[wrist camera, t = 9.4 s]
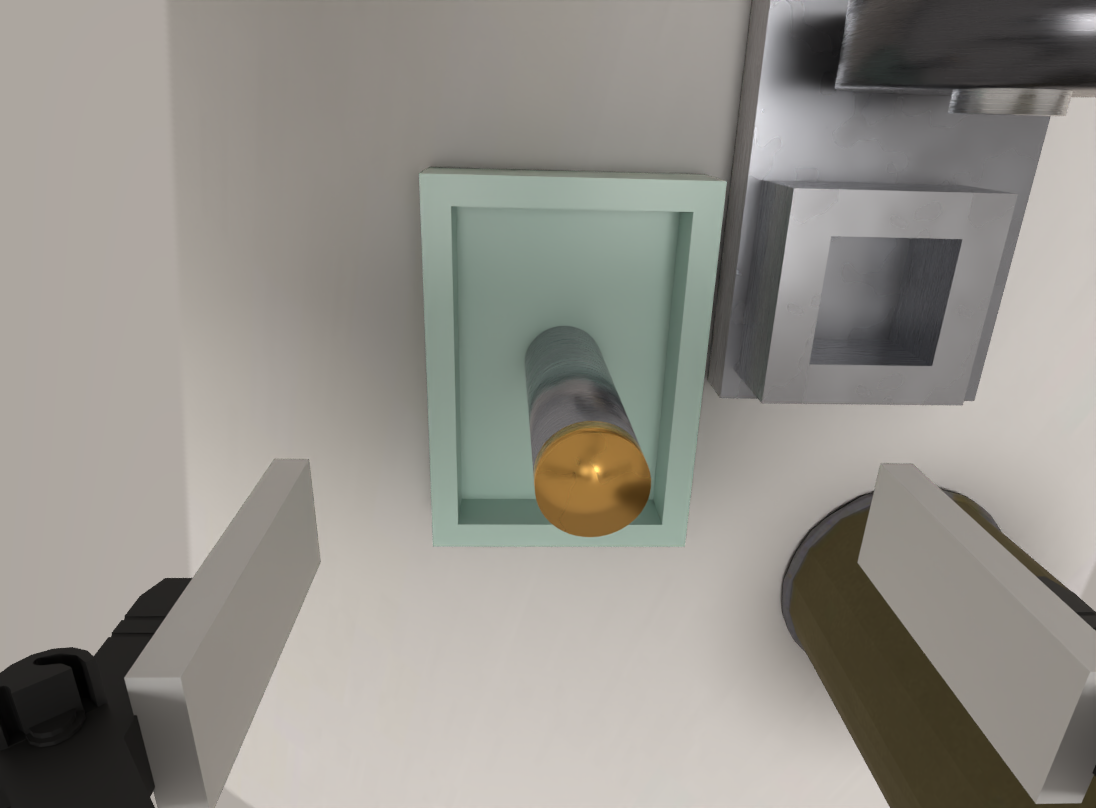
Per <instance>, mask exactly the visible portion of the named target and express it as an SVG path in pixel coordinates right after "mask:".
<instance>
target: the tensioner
mask: <svg viewBox="0 0 1096 808" xmlns="http://www.w3.org/2000/svg"><path fill="white" fill-rule="evenodd" d="M1071 97H1096V0H752V6H751V14H750V23H749V31H748V40H747V48H746V57H745V65H744V74H743V82H742V91H741V99H740V108H739V116H738V125H737V133H736V142H735V150H734V159H733V167H732V176H731V184H730V193H729V201H728V210H727V218H726V227H725V235H724V244H723V252H722V261H721V269H720V278H719V286H718V295H717V303H716V312H715V320H714V329H713V337H712V346H711V354H710V363H709V371H708V382H709V383H710V384H711V386H712V387H713V389H714V390H715V391H716V393H717V394H718V395H719V397H720V398H756V399H759V400H760V402H761V403H791V404H887V405H963V402H964V401H974V400H975V396H976V392H977V388H978V385H979V381H980V377H981V374H982V370H983V366H984V362H985V359H986V355H987V351H988V347H989V344H990V340H991V336H992V333H993V329H994V325H995V321H996V318H997V314H998V310H999V306H1000V303H1001V299H1002V295H1003V292H1004V288H1005V284H1006V280H1007V277H1008V273H1009V269H1010V265H1011V262H1012V258H1013V254H1014V251H1015V247H1016V243H1017V239H1018V236H1019V232H1020V228H1021V224H1022V221H1023V217H1024V213H1025V209H1026V206H1027V202H1028V198H1029V195H1030V191H1031V187H1032V183H1033V180H1034V176H1035V172H1036V168H1037V165H1038V161H1039V157H1040V154H1041V150H1042V146H1043V142H1044V139H1045V135H1046V131H1047V127H1048V124H1049V120H1050V116H1066V114H1067V110H1068V106H1069V103H1070V99H1071Z"/></svg>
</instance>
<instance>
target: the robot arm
mask: <svg viewBox="0 0 1096 808" xmlns="http://www.w3.org/2000/svg"><path fill="white" fill-rule="evenodd" d="M320 562H321V561H320V552H319V543H318V534H317V525H316V516H315V507H314V498H313V490H312V481H311V472H310V463H309V459H274V460H273V462H272V463H271V465H270V466H269V467H268V469H267V470H266V472H265V473H264V475H263V476H262V478H261V479H260V481H259V482H258V483H257V485H256V486H255V488H254V489H253V491H252V492H251V494H250V495H249V497H248V498H247V500H246V501H245V502H244V504H243V505H242V507H241V508H240V510H239V511H238V513H237V514H236V516H235V517H234V518H233V520H232V521H231V523H230V524H229V526H228V527H227V529H226V530H225V532H224V533H223V534H222V536H221V537H220V539H219V540H218V542H217V543H216V545H215V546H214V548H213V549H212V551H211V552H210V553H209V555H208V556H207V558H206V559H205V561H204V562H203V564H202V565H201V567H200V568H199V569H198V571H197V572H196V574H195V575H194V577H193V578H165V579H163V580H162V581H161V582H159V583H158V584H156V585H155V586H153V587H152V588H151V589H149V590H148V591H147V592H145V593H144V594H142V595H141V596H140V597H139V598H138V599H137V601H136V602H135V603H134V605H133V606H132V607H131V609H130V610H129V611H128V612H127V614H126V615H125V619H124V620H121V622H120V623H119V624H118V626H117V627H116V628H115V629H114V631H113V632H112V636H111V637H109V638H108V639H107V640H106V641H105V642H104V644H103V645H102V646H101V648H100V649H99V650H98V652H97V653H96V654H95V656H94V657H93V656H92V655H91V654H90V653H89V652H88V651H86V650H81V649H78V648H73V647H70V648H57V649H51V650H47V651H44V652H40V653H37V654H33V655H30V656H29V657H26V658H25V659H22V660H20V661H18V662H16V663H14V664H12V665H10V666H9V667H8V668H6V669H5V670H4V671H2V672H1V673H0V808H155V807H154V805H153V803H152V801H151V798H150V796H151V794H152V792H154V795H155V799H156V803H157V807H158V808H215V806H216V804H217V801H218V799H219V797H220V794H221V792H222V790H223V787H224V785H225V783H226V780H227V778H228V776H229V773H230V771H231V769H232V766H233V764H234V762H235V760H236V757H237V755H238V753H239V750H240V748H241V746H242V743H243V741H244V739H245V736H246V734H247V732H248V729H249V727H250V725H251V722H252V720H253V718H254V715H255V713H256V711H257V708H258V706H259V704H260V702H261V699H262V697H263V695H264V692H265V690H266V688H267V685H268V683H269V681H270V678H271V676H272V674H273V671H274V669H275V667H276V664H277V662H278V660H279V657H280V655H281V653H282V650H283V648H284V646H285V644H286V641H287V639H288V637H289V634H290V632H291V630H292V627H293V625H294V623H295V620H296V618H297V616H298V613H299V611H300V609H301V606H302V604H303V602H304V599H305V597H306V595H307V592H308V590H309V588H310V585H311V583H312V581H313V579H314V576H315V574H316V572H317V569H318V567H319V565H320ZM857 563H858V564H859V565H860V567H861V568H862V569H863V571H864V572H865V573H866V575H867V576H868V577H869V579H870V580H871V582H872V583H873V584H874V586H875V587H876V588H877V590H878V591H879V592H880V594H881V595H882V596H883V598H884V599H885V600H886V602H887V603H888V605H889V606H890V607H891V609H892V610H893V611H894V613H895V614H896V615H897V617H898V618H899V619H900V621H901V622H902V623H903V625H904V626H905V628H906V629H907V630H908V632H909V633H910V634H911V636H912V637H913V638H914V640H915V641H916V642H917V644H918V645H919V646H920V648H921V649H922V651H923V652H924V653H925V655H926V656H927V657H928V659H929V660H930V661H931V663H932V664H933V665H934V667H935V668H936V669H937V671H938V672H939V674H940V675H941V676H942V678H943V679H944V680H945V682H946V683H947V684H948V686H949V687H950V688H951V690H952V691H953V692H954V694H955V695H956V697H957V698H958V699H959V701H960V702H961V703H962V705H963V706H964V707H965V709H966V710H967V711H968V713H969V714H970V716H971V717H972V718H973V720H974V721H975V722H976V724H977V725H978V726H979V728H980V729H981V730H982V732H983V733H984V734H985V736H986V737H987V739H988V740H989V741H990V743H991V744H992V745H993V747H994V748H995V749H996V751H997V752H998V753H999V755H1000V756H1001V757H1002V759H1003V760H1004V762H1005V763H1006V764H1007V766H1008V767H1009V768H1010V770H1011V771H1012V772H1013V774H1014V775H1015V776H1016V778H1017V779H1018V780H1019V782H1020V783H1021V785H1022V786H1023V787H1024V789H1025V790H1026V791H1027V793H1028V794H1029V795H1030V797H1031V798H1032V799H1033V801H1034V802H1035V803H1036V804H1061V803H1082V800H1083V798H1084V796H1085V794H1086V791H1087V789H1088V787H1089V785H1090V783H1091V780H1092V778H1093V776H1095V777H1096V614H1095V613H1096V612H1095V611H1094V610H1092V608H1090V607H1089V606H1088V605H1087V604H1086V603H1085V602H1084V601H1083V600H1081V599H1080V598H1079V597H1078V596H1077V595H1076V594H1075V593H1073V592H1071V591H1070V590H1068V589H1066V588H1064V587H1063V586H1061V585H1059V584H1057V583H1056V582H1054V581H1052V580H1050V579H1049V578H1047V577H1045V576H1035V575H1034V574H1033V573H1032V572H1031V571H1029V570H1028V569H1027V568H1026V567H1025V566H1024V565H1023V564H1022V563H1021V562H1020V561H1019V560H1017V559H1016V558H1015V557H1014V556H1013V555H1012V554H1011V553H1010V552H1009V551H1008V550H1007V549H1005V548H1004V547H1003V546H1002V545H1001V544H1000V543H999V542H998V541H997V540H996V539H994V538H993V537H992V536H991V535H990V534H989V533H988V532H987V531H986V530H985V529H984V528H982V527H981V526H980V525H979V524H978V523H977V522H976V521H975V520H974V519H973V518H971V517H970V516H969V515H968V514H967V513H966V512H965V511H964V510H963V509H962V508H961V507H959V506H958V505H957V504H956V503H955V502H954V501H953V500H952V499H951V498H950V497H948V496H947V495H946V494H945V493H944V492H943V491H942V490H941V489H940V488H939V487H938V486H936V485H935V484H934V483H933V482H932V481H931V480H930V479H929V478H928V477H927V476H926V475H924V474H923V473H922V472H921V471H920V470H919V469H918V468H917V467H916V466H915V465H913V464H889V463H880V468H879V472H878V476H877V481H876V485H875V489H874V493H873V498H872V502H871V506H870V511H869V515H868V519H867V524H866V528H865V532H864V536H863V541H862V545H861V549H860V554H859V558H858V562H857Z"/></svg>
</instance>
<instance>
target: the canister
mask: <svg viewBox="0 0 1096 808" xmlns="http://www.w3.org/2000/svg"><path fill="white" fill-rule="evenodd" d="M942 491H943V492H944V493H945V494H946V495H947V496H948V497H950V498H951V499H952V500H953V501H954V502H955V503H956V504H957V505H958V506H959V507H961V508H962V509H963V510H964V511H965V512H966V513H967V514H968V515H969V516H970V517H971V518H973V519H974V520H975V521H976V522H977V523H978V524H979V525H980V526H981V527H982V528H984V529H985V530H986V531H987V532H988V533H989V534H990V535H991V536H992V537H993V538H994V539H996V540H997V541H998V542H999V543H1000V544H1001V545H1002V546H1003V547H1004V548H1005V549H1007V550H1008V551H1009V552H1010V553H1011V554H1012V555H1013V556H1014V557H1015V558H1016V559H1017V560H1019V561H1020V562H1021V563H1022V564H1023V565H1024V566H1025V567H1026V568H1027V569H1028V570H1029V571H1031V572H1032V573H1033V574H1034V575H1035V576H1045V577H1047V578H1049V579H1050V580H1052V581H1054V582H1056V583H1057V584H1059V585H1061V586H1063V587H1064V588H1066V589H1068V588H1067V587H1065V586H1064V585H1063V584H1062V583H1061V582H1059V581H1058V580H1057V579H1056V578H1055V577H1054V576H1052V575H1051V574H1050V573H1049V572H1048V571H1047V570H1045V569H1044V568H1043V567H1042V566H1041V565H1039V564H1038V563H1037V562H1036V561H1035V560H1034V559H1032V558H1031V557H1030V556H1029V555H1028V554H1027V553H1025V552H1024V551H1023V550H1022V549H1021V548H1019V547H1018V546H1017V545H1016V544H1015V543H1014V542H1012V541H1011V540H1010V539H1009V538H1008V537H1006V536H1005V535H1004V534H1003V533H1002V532H1001V530H1000V529H999V527H998V526H997V524H996V523H995V521H994V520H993V518H992V516H991V515H990V514H989V513H988V512H986V511H985V510H984V509H983V508H982V507H981V506H979V505H978V504H976V503H975V502H974V501H972V500H971V499H969V498H968V497H966V496H963V495H960V494H957V493H953V492H949V491H944V490H942ZM872 498H873V493H872V494H868V495H865V496H861V497H859V498H858V499H856V500H854V501H853V502H851V503H849V504H848V505H846V506H844V507H843V508H841V509H839V510H838V511H836V512H835V513H833V514H831V515H830V516H828V517H826V518H825V519H824V520H823V521H822V522H821V523H820V524H818V525H817V526H816V527H815V528H814V529H813V530H812V531H811V532H810V533H809V534H808V536H807V537H806V538H805V540H804V541H803V543H802V544H801V545H800V547H799V548H798V549H797V551H796V553H795V555H794V557H793V560H792V562H791V564H790V567H789V569H788V571H787V574H786V576H785V578H784V581H783V593H782V612H783V615H784V618H785V621H786V624H787V627H788V630H789V632H790V633H791V635H792V637H793V639H794V641H795V642H796V643H797V644H798V645H799V646H800V647H801V648H802V649H803V650H804V651H805V652H806V653H807V655H808V657H809V659H810V661H811V662H812V664H813V666H814V668H815V670H816V672H817V674H818V675H819V677H820V679H821V681H822V683H823V685H824V686H825V688H826V690H827V692H828V694H829V696H830V698H831V699H832V701H833V703H834V705H835V707H836V709H837V710H838V712H839V714H840V716H841V718H842V720H843V722H844V723H845V725H846V727H847V729H848V731H849V733H850V734H851V736H852V738H853V740H854V742H855V744H856V746H857V747H858V749H859V751H860V753H861V755H862V757H863V758H864V760H865V762H866V764H867V766H868V768H869V770H870V771H871V773H872V775H873V777H874V779H875V781H876V782H877V784H878V786H879V788H880V790H881V792H882V794H883V795H884V797H885V799H886V801H887V803H888V805H889V806H890V808H1096V777H1095V776H1093V778H1092V780H1091V783H1090V785H1089V787H1088V789H1087V791H1086V794H1085V796H1084V798H1083V800H1082V803H1061V804H1036V803H1035V802H1034V801H1033V799H1032V798H1031V797H1030V795H1029V794H1028V793H1027V791H1026V790H1025V789H1024V787H1023V786H1022V785H1021V783H1020V782H1019V780H1018V779H1017V778H1016V776H1015V775H1014V774H1013V772H1012V771H1011V770H1010V768H1009V767H1008V766H1007V764H1006V763H1005V762H1004V760H1003V759H1002V757H1001V756H1000V755H999V753H998V752H997V751H996V749H995V748H994V747H993V745H992V744H991V743H990V741H989V740H988V739H987V737H986V736H985V734H984V733H983V732H982V730H981V729H980V728H979V726H978V725H977V724H976V722H975V721H974V720H973V718H972V717H971V716H970V714H969V713H968V711H967V710H966V709H965V707H964V706H963V705H962V703H961V702H960V701H959V699H958V698H957V697H956V695H955V694H954V692H953V691H952V690H951V688H950V687H949V686H948V684H947V683H946V682H945V680H944V679H943V678H942V676H941V675H940V674H939V672H938V671H937V669H936V668H935V667H934V665H933V664H932V663H931V661H930V660H929V659H928V657H927V656H926V655H925V653H924V652H923V651H922V649H921V648H920V646H919V645H918V644H917V642H916V641H915V640H914V638H913V637H912V636H911V634H910V633H909V632H908V630H907V629H906V628H905V626H904V625H903V623H902V622H901V621H900V619H899V618H898V617H897V615H896V614H895V613H894V611H893V610H892V609H891V607H890V606H889V605H888V603H887V602H886V600H885V599H884V598H883V596H882V595H881V594H880V592H879V591H878V590H877V588H876V587H875V586H874V584H873V583H872V582H871V580H870V579H869V577H868V576H867V575H866V573H865V572H864V571H863V569H862V568H861V567H860V565H859V564H858V563H857V562H858V558H859V554H860V549H861V545H862V541H863V536H864V532H865V528H866V524H867V519H868V515H869V511H870V506H871V502H872ZM1068 590H1069V589H1068ZM1095 614H1096V613H1095Z"/></svg>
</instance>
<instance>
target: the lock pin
mask: <svg viewBox="0 0 1096 808" xmlns="http://www.w3.org/2000/svg"><path fill="white" fill-rule="evenodd" d="M525 377H526V389H527V402H528V414H529V426H530V438H531V451H532V463H533V475H534V487H535V496H536V501H537V504H538V506H539V508H540V510H541V512H542V514H543V515H544V516H545V518H546V519H547V520H548V521H549V522H550V523H551V524H553V525H554V526H555V527H556V528H558V529H560V530H562V531H564V532H566V533H568V534H572V535H575V536H580V537H600V536H605V535H608V534H612V533H614V532H617V531H619V530H621V529H623V528H624V527H626V526H627V525H629V524H630V523H631V522H632V521H634V520H635V519H636V518H637V517H638V515H639V514H640V513H641V512H642V510H643V509H644V507H645V505H646V503H647V501H648V498H649V495H650V490H651V475H650V470H649V467H648V464H647V462H646V460H645V457H644V455H643V452H642V450H641V448H640V445H639V443H638V440H637V438H636V435H635V433H634V431H633V428H632V426H631V423H630V421H629V419H628V416H627V414H626V411H625V409H624V407H623V404H622V402H621V399H620V397H619V394H618V392H617V390H616V387H615V385H614V382H613V380H612V378H611V375H610V373H609V370H608V368H607V365H606V363H605V361H604V358H603V356H602V353H601V351H600V349H599V346H598V344H597V343H596V341H595V340H594V339H593V338H592V337H591V336H590V335H589V334H588V333H586V332H585V331H583V330H581V329H579V328H576V327H572V326H557V327H553V328H549V329H547V330H545V331H543V332H542V333H540V334H539V335H538V336H537V337H536V338H535V339H534V340H533V341H532V342H531V344H530V345H529V347H528V349H527V352H526V356H525Z"/></svg>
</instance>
